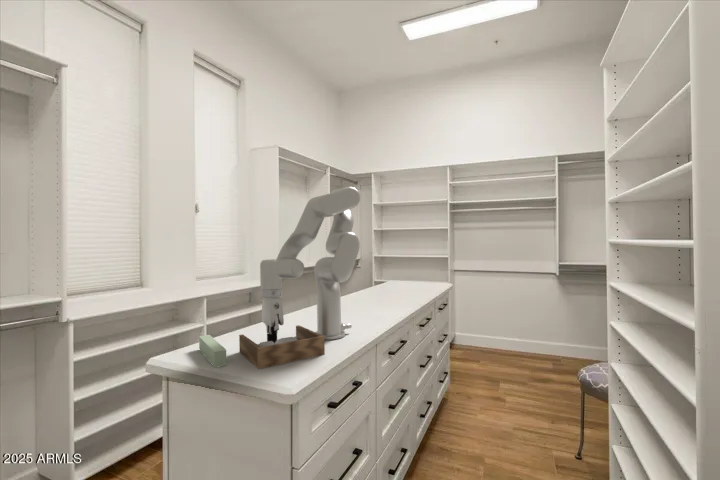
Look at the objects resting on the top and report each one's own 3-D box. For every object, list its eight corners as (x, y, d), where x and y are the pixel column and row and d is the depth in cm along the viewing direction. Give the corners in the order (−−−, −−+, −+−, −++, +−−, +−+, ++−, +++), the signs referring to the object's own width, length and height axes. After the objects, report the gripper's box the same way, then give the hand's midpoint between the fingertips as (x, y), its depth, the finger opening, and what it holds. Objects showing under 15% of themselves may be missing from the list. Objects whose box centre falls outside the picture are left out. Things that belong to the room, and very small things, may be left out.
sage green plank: (199, 350, 125) (199, 336, 125) (209, 348, 127) (209, 334, 128) (214, 368, 107) (214, 351, 107) (226, 365, 109) (226, 349, 109)
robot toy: (252, 364, 112) (299, 357, 114) (250, 350, 112) (298, 343, 114) (256, 352, 124) (299, 346, 127) (255, 339, 124) (298, 334, 127)
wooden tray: (299, 340, 134) (298, 325, 134) (324, 354, 117) (324, 336, 117) (239, 352, 121) (239, 334, 121) (258, 368, 105) (258, 348, 105)
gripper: (289, 294, 123) (290, 347, 122) (273, 290, 135) (274, 338, 135) (268, 297, 118) (269, 351, 118) (254, 292, 131) (255, 341, 130)
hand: (272, 344), depth 126 cm, fingers closed
